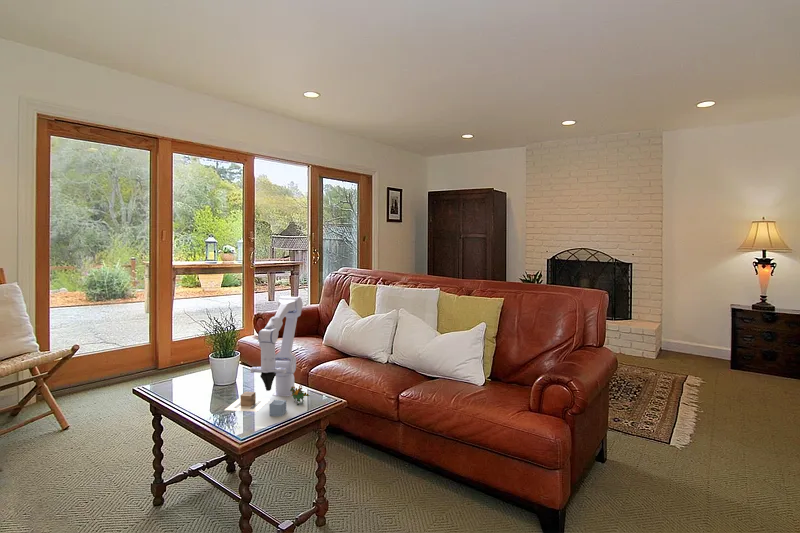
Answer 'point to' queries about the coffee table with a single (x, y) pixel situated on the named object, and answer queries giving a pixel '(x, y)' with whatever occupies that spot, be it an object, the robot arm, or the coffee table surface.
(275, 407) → the blue cube
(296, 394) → the figurine
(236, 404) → the letter mat
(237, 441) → the coffee table surface
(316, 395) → the coffee table surface
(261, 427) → the coffee table surface
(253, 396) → the walnut block
